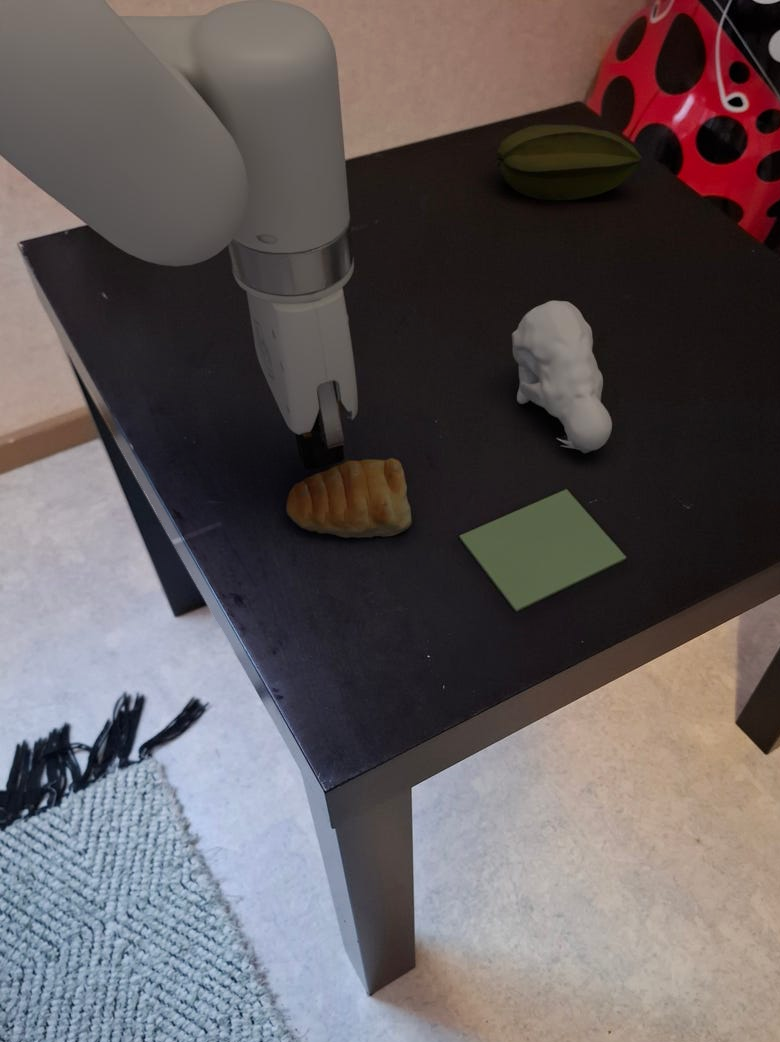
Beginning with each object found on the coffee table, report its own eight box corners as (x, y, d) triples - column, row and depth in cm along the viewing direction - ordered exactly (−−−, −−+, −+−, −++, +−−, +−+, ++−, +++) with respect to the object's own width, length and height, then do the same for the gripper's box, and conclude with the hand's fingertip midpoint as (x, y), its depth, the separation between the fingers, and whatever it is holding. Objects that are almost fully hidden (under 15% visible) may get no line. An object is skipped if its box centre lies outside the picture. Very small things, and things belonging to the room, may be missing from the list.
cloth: (515, 612, 66) (516, 609, 65) (459, 538, 69) (459, 535, 69) (625, 559, 69) (626, 557, 69) (566, 491, 73) (566, 488, 72)
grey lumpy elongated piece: (582, 281, 74) (650, 387, 69) (563, 360, 81) (624, 460, 76) (511, 297, 72) (575, 406, 67) (499, 376, 79) (556, 479, 74)
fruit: (556, 151, 101) (564, 88, 96) (638, 197, 97) (652, 135, 91) (484, 187, 96) (488, 123, 91) (567, 238, 92) (577, 174, 87)
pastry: (292, 552, 68) (286, 518, 64) (283, 487, 71) (277, 451, 68) (417, 536, 69) (416, 501, 66) (402, 473, 73) (401, 437, 70)
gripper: (199, 191, 58) (248, 409, 74) (265, 333, 51) (304, 542, 66) (312, 170, 60) (337, 386, 76) (391, 304, 53) (400, 513, 68)
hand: (321, 459), depth 71 cm, fingers closed
